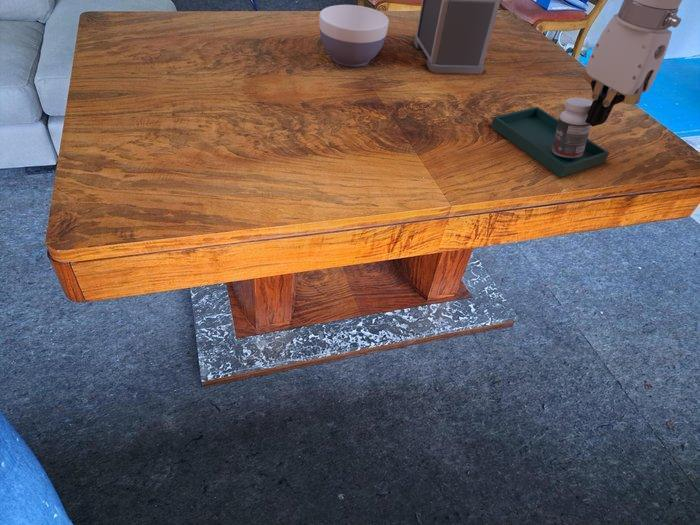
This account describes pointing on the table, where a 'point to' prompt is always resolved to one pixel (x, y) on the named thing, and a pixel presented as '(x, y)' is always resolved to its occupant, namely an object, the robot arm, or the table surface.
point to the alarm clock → (456, 34)
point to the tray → (545, 141)
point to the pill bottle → (572, 129)
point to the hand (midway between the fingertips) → (594, 122)
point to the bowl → (352, 33)
